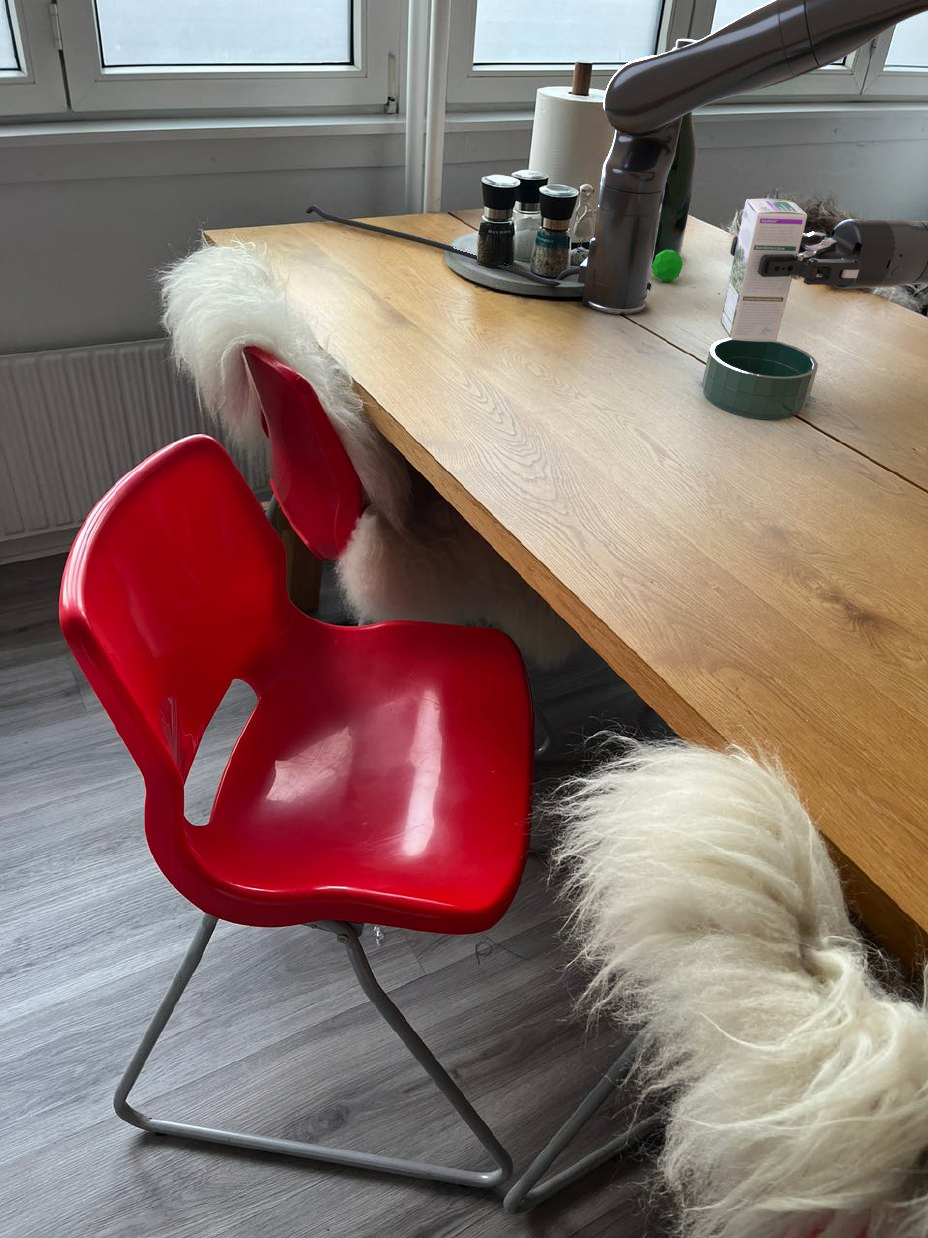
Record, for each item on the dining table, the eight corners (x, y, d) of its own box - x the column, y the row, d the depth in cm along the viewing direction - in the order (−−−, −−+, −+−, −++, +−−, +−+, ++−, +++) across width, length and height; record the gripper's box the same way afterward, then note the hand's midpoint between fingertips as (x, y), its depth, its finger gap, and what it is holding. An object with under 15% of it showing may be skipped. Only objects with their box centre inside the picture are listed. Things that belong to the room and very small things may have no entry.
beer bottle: (644, 264, 163) (681, 43, 143) (610, 247, 171) (641, 34, 151) (692, 259, 167) (735, 43, 147) (657, 242, 175) (693, 34, 155)
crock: (693, 408, 117) (702, 365, 114) (708, 369, 128) (717, 330, 124) (801, 429, 114) (814, 386, 111) (808, 388, 124) (820, 348, 121)
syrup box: (777, 342, 111) (812, 212, 102) (728, 340, 110) (758, 210, 102) (764, 324, 115) (796, 198, 106) (717, 322, 115) (745, 196, 106)
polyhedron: (684, 280, 158) (690, 250, 155) (673, 287, 155) (678, 257, 152) (656, 273, 160) (661, 244, 157) (645, 280, 157) (650, 251, 154)
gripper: (852, 203, 114) (726, 203, 110) (924, 238, 103) (785, 240, 99) (834, 266, 118) (712, 269, 115) (900, 307, 107) (767, 311, 104)
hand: (747, 255), depth 107 cm, fingers closed on syrup box, 6 cm apart
